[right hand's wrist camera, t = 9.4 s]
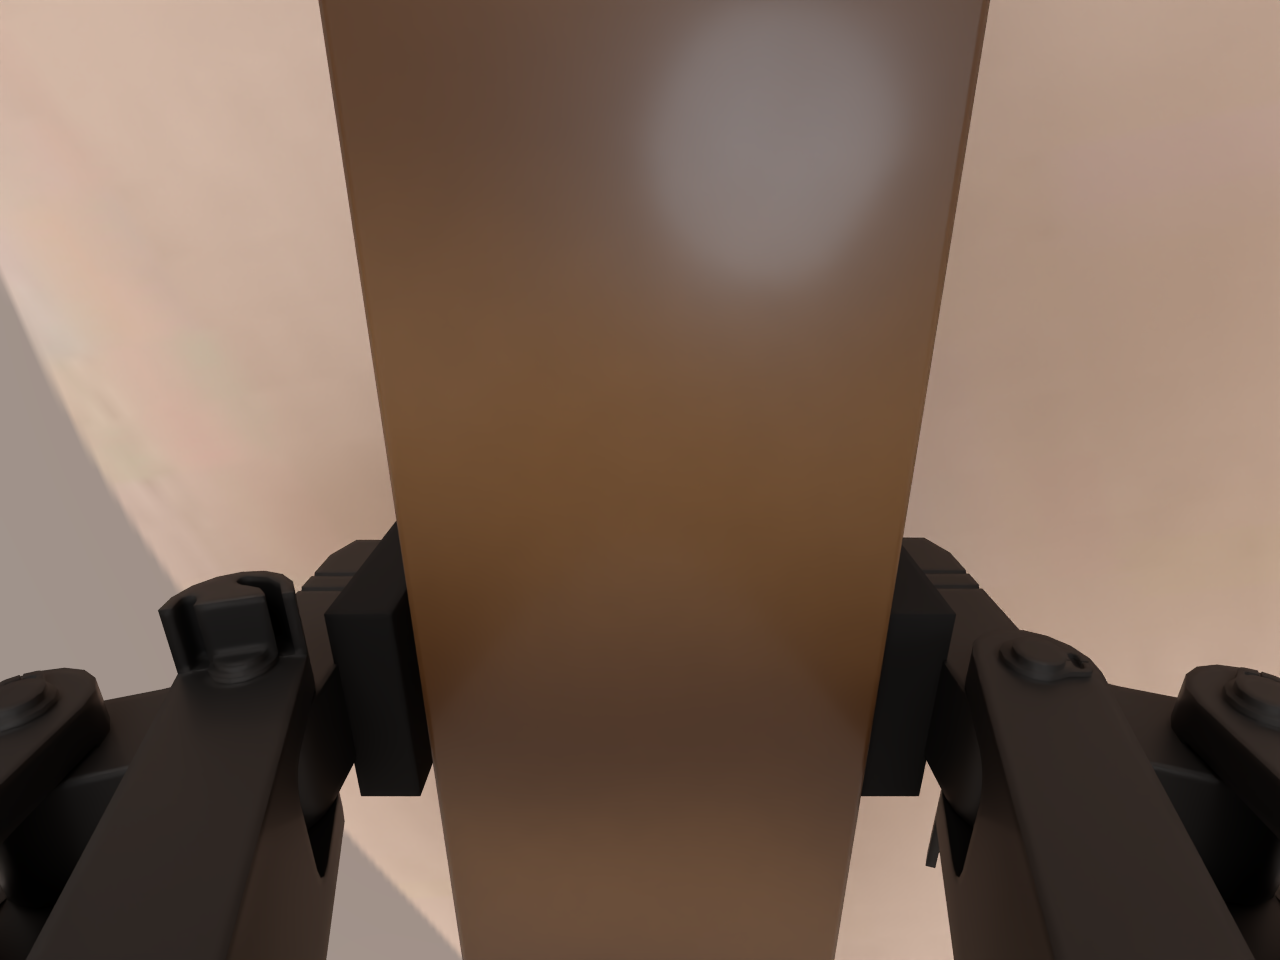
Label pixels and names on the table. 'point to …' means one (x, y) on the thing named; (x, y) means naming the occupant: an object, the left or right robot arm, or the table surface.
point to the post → (651, 433)
